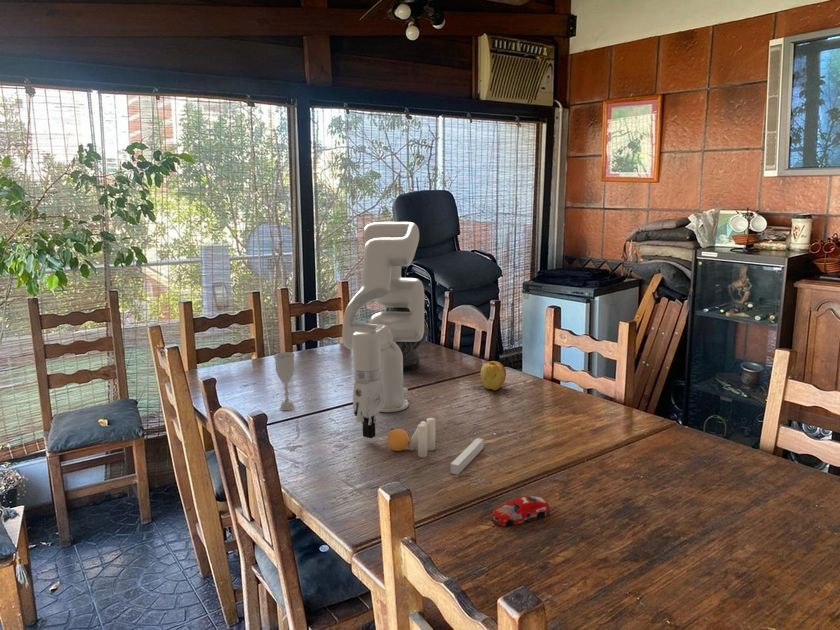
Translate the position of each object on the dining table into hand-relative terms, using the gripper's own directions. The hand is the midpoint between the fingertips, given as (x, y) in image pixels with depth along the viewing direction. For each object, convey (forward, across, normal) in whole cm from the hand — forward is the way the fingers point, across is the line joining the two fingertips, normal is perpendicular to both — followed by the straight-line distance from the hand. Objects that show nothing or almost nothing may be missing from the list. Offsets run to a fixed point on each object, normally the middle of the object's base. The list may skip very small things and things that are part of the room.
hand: (369, 436), depth 176 cm
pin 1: (+2, -2, -18) cm, 18 cm away
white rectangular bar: (+2, 0, -30) cm, 30 cm away
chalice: (+2, +13, +39) cm, 41 cm away
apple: (+2, +59, -16) cm, 61 cm away
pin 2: (+2, +2, -18) cm, 18 cm away
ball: (-2, -2, -10) cm, 11 cm away
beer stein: (+2, +72, +27) cm, 77 cm away
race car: (+2, -22, -51) cm, 56 cm away
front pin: (+1, 0, -13) cm, 13 cm away
